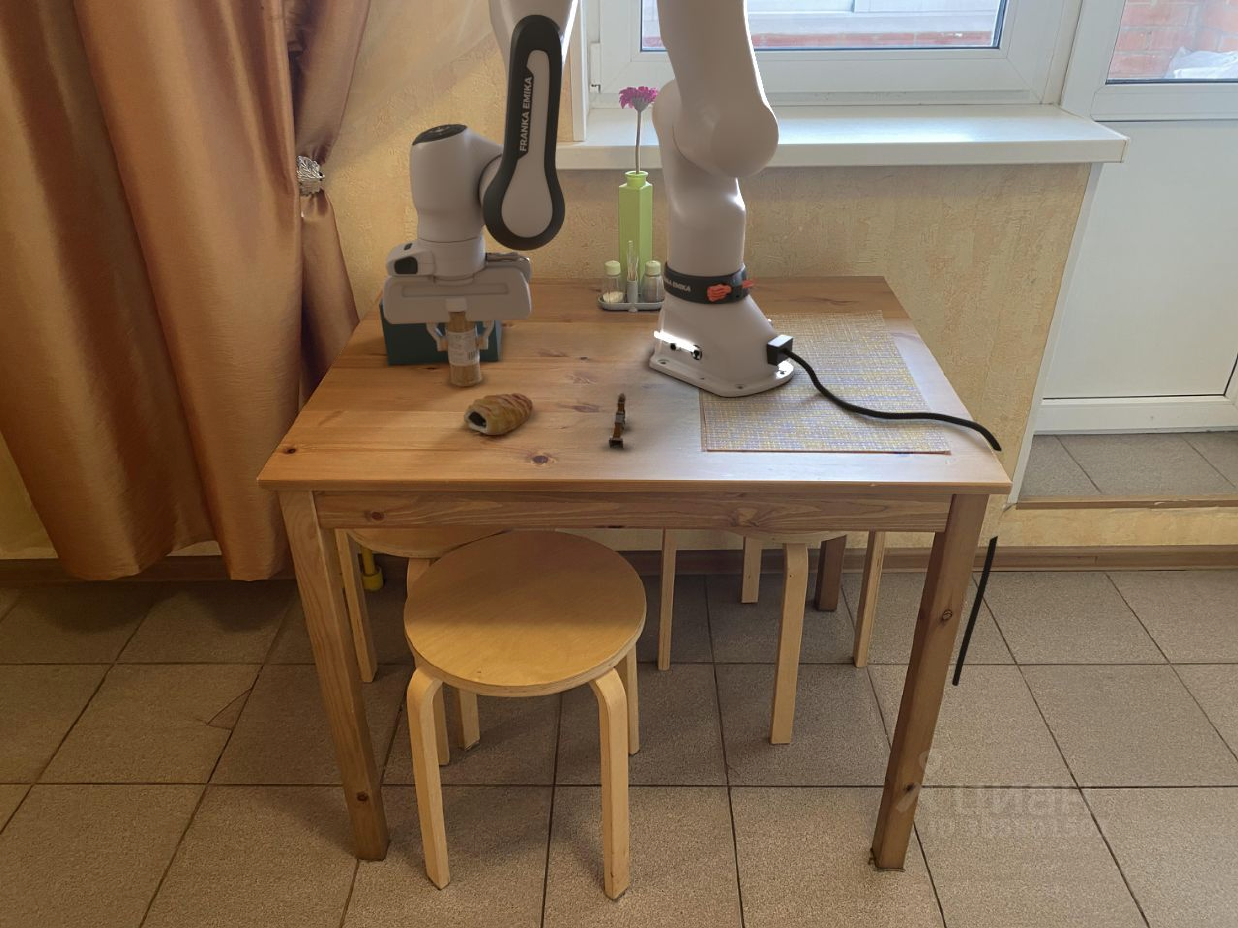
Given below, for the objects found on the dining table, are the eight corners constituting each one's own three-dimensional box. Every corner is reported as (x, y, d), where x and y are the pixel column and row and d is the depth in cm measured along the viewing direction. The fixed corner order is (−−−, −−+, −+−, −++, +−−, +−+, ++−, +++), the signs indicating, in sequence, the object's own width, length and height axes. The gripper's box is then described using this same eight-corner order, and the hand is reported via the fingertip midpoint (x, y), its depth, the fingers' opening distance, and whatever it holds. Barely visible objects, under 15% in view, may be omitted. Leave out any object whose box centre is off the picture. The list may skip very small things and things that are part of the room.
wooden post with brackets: (630, 411, 118) (629, 390, 114) (624, 460, 113) (622, 439, 110) (616, 410, 118) (615, 389, 114) (610, 459, 114) (608, 438, 110)
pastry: (512, 401, 123) (510, 376, 121) (546, 416, 119) (545, 391, 117) (460, 425, 117) (457, 400, 115) (494, 443, 113) (491, 416, 111)
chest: (502, 329, 145) (497, 277, 140) (498, 361, 134) (494, 306, 130) (399, 332, 144) (392, 280, 139) (388, 365, 133) (379, 310, 129)
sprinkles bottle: (471, 371, 131) (462, 284, 124) (488, 381, 128) (479, 293, 121) (444, 380, 129) (433, 292, 122) (460, 390, 126) (450, 301, 119)
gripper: (530, 244, 122) (536, 337, 129) (380, 248, 121) (394, 342, 128) (530, 259, 116) (535, 355, 124) (373, 263, 115) (388, 360, 122)
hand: (463, 348), depth 126 cm, fingers closed on sprinkles bottle, 4 cm apart
